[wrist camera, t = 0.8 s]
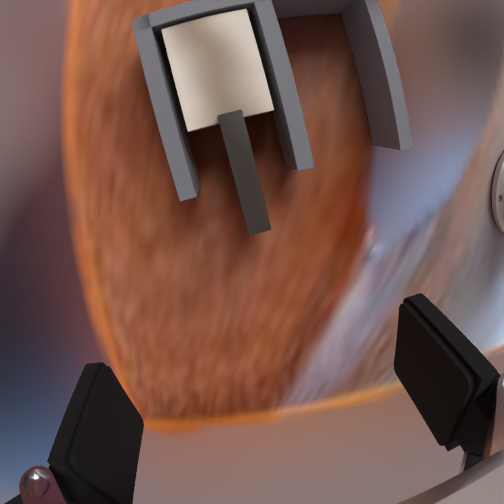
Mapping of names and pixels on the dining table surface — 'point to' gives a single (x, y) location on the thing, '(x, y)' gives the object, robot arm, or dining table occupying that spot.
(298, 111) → the lane rack
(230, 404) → the dining table surface
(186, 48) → the cream block
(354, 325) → the dining table surface
